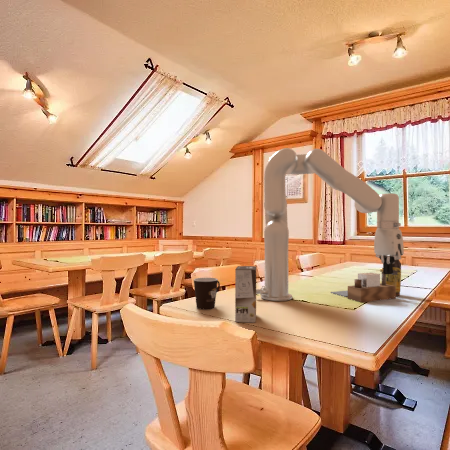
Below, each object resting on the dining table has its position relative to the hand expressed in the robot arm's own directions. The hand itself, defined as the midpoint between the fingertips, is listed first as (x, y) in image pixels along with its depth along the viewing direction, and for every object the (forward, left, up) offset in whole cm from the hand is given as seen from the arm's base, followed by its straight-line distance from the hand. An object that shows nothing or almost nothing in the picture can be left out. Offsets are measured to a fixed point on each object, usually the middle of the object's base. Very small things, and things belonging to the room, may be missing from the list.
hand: (387, 273), depth 125 cm
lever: (+4, +3, 0) cm, 5 cm away
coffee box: (-60, 0, -11) cm, 61 cm away
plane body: (-1, +7, -11) cm, 13 cm away
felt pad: (-3, +17, -11) cm, 21 cm away
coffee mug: (-66, +18, -11) cm, 69 cm away
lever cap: (-2, +7, -6) cm, 9 cm away
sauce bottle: (+13, +9, -11) cm, 19 cm away
